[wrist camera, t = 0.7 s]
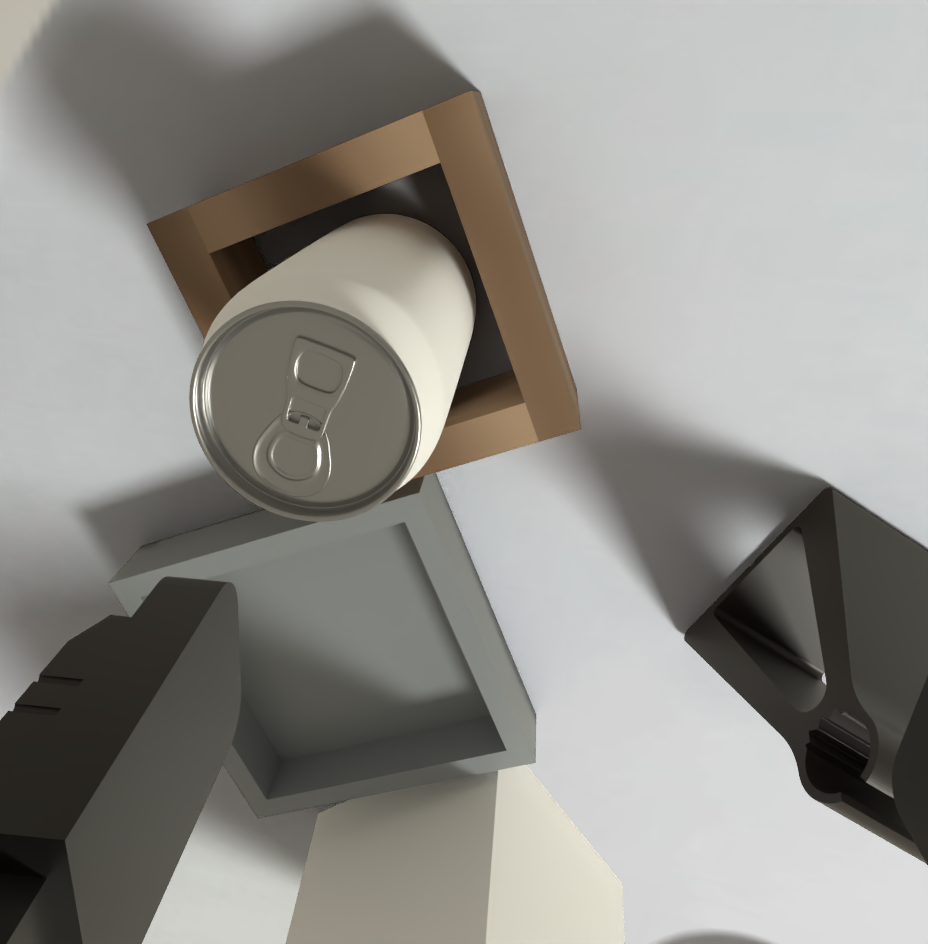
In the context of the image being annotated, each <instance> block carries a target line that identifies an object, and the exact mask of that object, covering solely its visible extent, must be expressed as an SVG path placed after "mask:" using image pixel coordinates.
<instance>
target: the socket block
mask: <svg viewBox="0 0 928 944" xmlns="http://www.w3.org/2000/svg"><path fill="white" fill-rule="evenodd" d="M438 163H441V166H442V169H443V172H444V174H445V177H446V180H447V183H448V186H449V189H450V191H451V194H452V197H453V200H454V203H455V206H456V208H457V211H458V214H459V217H460V220H461V223H462V225H463V228H464V231H465V234H466V237H467V240H468V242H469V245H470V248H471V251H472V254H473V257H474V259H475V262H476V265H477V268H478V271H479V274H480V276H481V279H482V282H483V285H484V288H485V291H486V293H487V296H488V299H489V302H490V305H491V308H492V310H493V313H494V316H495V319H496V322H497V325H498V327H499V330H500V333H501V336H502V339H503V342H504V344H505V347H506V350H507V353H508V356H509V359H510V361H511V364H512V367H513V370H514V371H511V372H507V373H504V374H501V375H498V376H495V377H492V378H489V379H486V380H483V381H479V382H476V383H473V384H470V385H467V386H464V387H461V388H458V389H456V390H455V393H454V397H453V400H452V403H451V406H450V409H449V412H448V416H447V419H446V422H445V425H444V427H443V430H442V433H441V435H440V438H439V440H438V443H437V445H436V447H435V449H434V450H433V452H432V454H431V455H430V457H429V459H428V460H427V462H426V463H425V464H424V466H423V467H422V468H421V469H420V471H419V472H418V473H417V474H416V475H415V476H414V477H413V478H412V479H415V478H418V477H422V476H425V475H429V474H432V473H435V472H439V471H442V470H445V469H449V468H452V467H455V466H459V465H462V464H466V463H469V462H472V461H476V460H479V459H482V458H486V457H489V456H493V455H496V454H499V453H503V452H506V451H509V450H513V449H516V448H519V447H523V446H526V445H530V444H533V443H536V442H540V441H543V440H546V439H550V438H553V437H556V436H560V435H563V434H567V433H570V432H573V431H577V430H580V429H581V424H580V415H579V406H578V397H577V389H576V386H575V383H574V380H573V377H572V374H571V371H570V368H569V364H568V361H567V358H566V355H565V352H564V349H563V346H562V343H561V340H560V337H559V333H558V330H557V327H556V324H555V321H554V318H553V315H552V312H551V309H550V306H549V302H548V299H547V296H546V293H545V290H544V287H543V284H542V281H541V278H540V275H539V271H538V268H537V265H536V262H535V259H534V256H533V253H532V250H531V247H530V244H529V241H528V237H527V234H526V231H525V228H524V225H523V222H522V219H521V216H520V213H519V210H518V206H517V203H516V200H515V197H514V194H513V191H512V188H511V185H510V182H509V179H508V175H507V172H506V169H505V166H504V163H503V160H502V157H501V154H500V151H499V148H498V144H497V141H496V138H495V135H494V132H493V129H492V126H491V123H490V120H489V117H488V114H487V110H486V107H485V104H484V101H483V98H482V95H481V92H478V91H468V92H466V93H464V94H461V95H459V96H456V97H454V98H451V99H449V100H447V101H444V102H442V103H439V104H437V105H434V106H432V107H430V108H427V109H425V110H422V111H420V112H417V113H415V114H413V115H410V116H408V117H405V118H403V119H400V120H398V121H396V122H393V123H391V124H388V125H386V126H383V127H381V128H379V129H376V130H374V131H371V132H369V133H366V134H364V135H362V136H359V137H357V138H354V139H352V140H349V141H347V142H345V143H342V144H340V145H337V146H335V147H332V148H330V149H328V150H325V151H323V152H320V153H318V154H315V155H313V156H311V157H308V158H306V159H303V160H301V161H298V162H296V163H293V164H291V165H289V166H286V167H284V168H281V169H279V170H276V171H274V172H272V173H269V174H267V175H264V176H262V177H259V178H257V179H255V180H252V181H250V182H247V183H245V184H242V185H240V186H238V187H235V188H233V189H230V190H228V191H225V192H223V193H221V194H218V195H216V196H213V197H211V198H208V199H206V200H204V201H201V202H199V203H196V204H194V205H191V206H189V207H187V208H184V209H182V210H179V211H177V212H174V213H172V214H170V215H167V216H165V217H162V218H160V219H157V220H155V221H153V222H150V223H148V224H147V226H148V228H149V230H150V232H151V234H152V236H153V238H154V240H155V242H156V244H157V246H158V247H159V249H160V251H161V253H162V255H163V257H164V259H165V261H166V263H167V265H168V267H169V269H170V271H171V273H172V275H173V277H174V279H175V281H176V283H177V285H178V287H179V289H180V291H181V293H182V295H183V297H184V299H185V301H186V303H187V305H188V307H189V309H190V311H191V313H192V315H193V317H194V319H195V321H196V322H197V324H198V326H199V328H200V330H201V332H202V334H203V336H204V338H206V335H207V333H208V331H209V329H210V327H211V325H212V323H213V321H214V320H215V318H216V317H217V315H218V314H219V313H220V311H221V310H222V309H223V308H224V306H225V305H226V304H227V303H228V302H229V301H230V300H231V299H232V298H233V297H234V296H235V295H236V294H237V293H238V292H240V291H241V290H242V289H243V288H245V287H246V286H247V285H249V284H250V283H251V282H253V281H254V280H256V279H257V278H259V277H260V276H262V275H263V274H265V273H266V272H268V270H267V268H266V266H265V264H264V261H263V259H262V257H261V255H260V253H259V251H258V248H257V246H256V244H255V242H254V240H253V237H252V236H255V235H258V234H260V233H263V232H265V231H268V230H270V229H273V228H275V227H278V226H280V225H283V224H286V223H288V222H291V221H293V220H296V219H298V218H301V217H303V216H306V215H308V214H311V213H314V212H316V211H319V210H321V209H324V208H326V207H329V206H331V205H334V204H336V203H339V202H342V201H344V200H347V199H349V198H352V197H354V196H357V195H359V194H362V193H364V192H367V191H370V190H372V189H375V188H377V187H380V186H382V185H385V184H387V183H390V182H392V181H395V180H398V179H400V178H403V177H405V176H408V175H410V174H413V173H415V172H418V171H420V170H423V169H425V168H428V167H431V166H433V165H436V164H438ZM412 479H411V480H412Z"/></svg>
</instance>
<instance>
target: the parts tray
mask: <svg viewBox="0 0 928 944" xmlns="http://www.w3.org/2000/svg"><path fill="white" fill-rule="evenodd" d="M166 576H172V577H182V578H192V579H202V580H212V581H222V582H231V583H233V584H234V586H235V588H236V592H237V598H238V619H239V644H240V668H241V704H240V712H239V718H238V723H237V727H236V731H235V734H234V738H233V741H232V743H231V746H230V748H229V751H228V753H227V755H226V757H225V759H224V762H223V765H224V766H225V768H226V769H227V771H228V773H229V774H230V776H231V777H232V779H233V780H234V782H235V784H236V785H237V787H238V788H239V790H240V791H241V793H242V795H243V796H244V798H245V799H246V801H247V802H248V804H249V805H250V807H251V809H252V810H253V812H254V813H255V815H256V816H257V818H262V817H267V816H272V815H277V814H282V813H287V812H292V811H297V810H302V809H307V808H312V807H317V806H322V805H327V804H332V803H337V802H342V801H347V800H352V799H357V798H362V797H367V796H372V795H377V794H382V793H387V792H392V791H397V790H402V789H407V788H412V787H417V786H422V785H427V784H432V783H437V782H442V781H447V780H452V779H457V778H462V777H467V776H472V775H477V774H482V773H487V772H492V771H497V770H502V769H507V768H512V767H517V766H522V765H527V764H532V763H536V713H535V711H534V708H533V706H532V704H531V701H530V699H529V696H528V694H527V692H526V689H525V687H524V684H523V682H522V679H521V677H520V675H519V672H518V670H517V667H516V665H515V663H514V660H513V658H512V655H511V653H510V651H509V648H508V646H507V643H506V641H505V639H504V636H503V634H502V631H501V629H500V627H499V624H498V622H497V619H496V617H495V615H494V612H493V610H492V607H491V605H490V603H489V600H488V598H487V595H486V593H485V591H484V588H483V586H482V583H481V581H480V579H479V576H478V574H477V571H476V569H475V567H474V564H473V562H472V559H471V557H470V555H469V552H468V550H467V547H466V545H465V543H464V540H463V538H462V535H461V533H460V531H459V528H458V526H457V523H456V521H455V519H454V516H453V514H452V511H451V509H450V507H449V504H448V502H447V499H446V497H445V495H444V492H443V490H442V487H441V485H440V482H439V480H438V478H437V475H436V473H432V474H429V475H425V476H422V477H418V478H415V479H412V480H410V481H408V482H407V483H406V484H405V485H403V486H402V487H401V488H399V489H398V490H396V491H395V492H394V493H393V494H392V495H391V496H390V497H388V498H387V499H386V500H385V501H383V502H382V503H381V504H379V505H378V506H376V507H374V508H373V509H371V510H369V511H367V512H364V513H362V514H360V515H357V516H354V517H350V518H347V519H342V520H336V521H326V522H313V521H303V520H296V519H292V518H288V517H284V516H281V515H278V514H275V513H272V512H270V511H268V510H265V509H264V510H260V511H257V512H254V513H250V514H247V515H244V516H240V517H237V518H234V519H231V520H227V521H224V522H221V523H217V524H214V525H211V526H207V527H204V528H201V529H197V530H194V531H191V532H187V533H184V534H181V535H178V536H174V537H171V538H168V539H164V540H161V541H158V542H154V543H151V544H148V545H144V546H141V547H140V549H139V550H138V551H137V552H136V553H135V554H134V555H133V556H132V557H131V559H130V560H129V561H128V562H127V563H126V564H125V565H124V566H123V567H122V569H121V570H120V571H119V572H118V573H117V574H116V575H115V576H114V577H113V579H112V580H111V581H110V582H109V583H108V584H109V586H110V587H111V589H112V591H113V592H114V594H115V595H116V597H117V598H118V600H119V602H120V603H121V605H122V606H123V608H124V609H125V611H126V613H127V614H128V616H129V617H132V616H133V615H134V613H135V612H136V611H137V609H138V608H139V607H140V605H141V604H142V603H143V602H144V600H145V599H146V598H147V596H148V595H149V594H150V592H151V591H152V590H153V589H154V587H155V586H156V585H157V583H158V582H159V581H160V580H161V579H162V578H164V577H166Z"/></svg>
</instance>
